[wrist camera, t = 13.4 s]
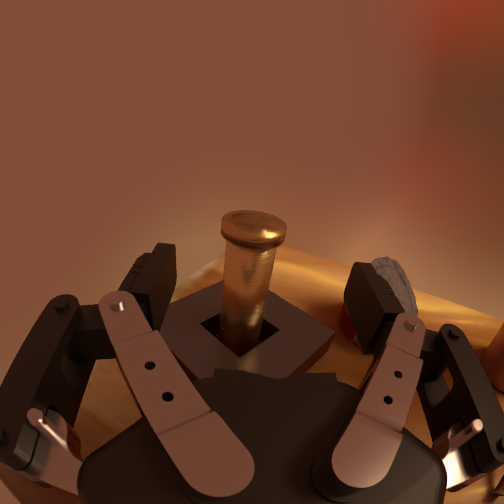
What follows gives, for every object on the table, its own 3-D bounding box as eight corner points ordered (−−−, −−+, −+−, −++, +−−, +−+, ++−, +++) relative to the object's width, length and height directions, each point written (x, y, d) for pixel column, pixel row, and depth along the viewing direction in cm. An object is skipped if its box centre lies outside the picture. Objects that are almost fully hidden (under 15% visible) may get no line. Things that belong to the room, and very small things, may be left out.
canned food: (379, 337, 38) (430, 296, 33) (377, 382, 29) (444, 335, 25) (329, 288, 39) (379, 240, 34) (316, 325, 30) (383, 267, 25)
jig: (238, 291, 37) (241, 272, 36) (327, 350, 29) (335, 331, 28) (144, 336, 28) (141, 315, 26) (235, 431, 20) (238, 416, 18)
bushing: (238, 325, 31) (253, 206, 25) (271, 350, 28) (299, 227, 22) (203, 344, 28) (208, 217, 21) (236, 374, 25) (255, 242, 19)
